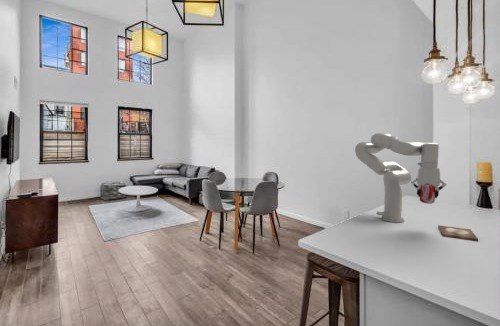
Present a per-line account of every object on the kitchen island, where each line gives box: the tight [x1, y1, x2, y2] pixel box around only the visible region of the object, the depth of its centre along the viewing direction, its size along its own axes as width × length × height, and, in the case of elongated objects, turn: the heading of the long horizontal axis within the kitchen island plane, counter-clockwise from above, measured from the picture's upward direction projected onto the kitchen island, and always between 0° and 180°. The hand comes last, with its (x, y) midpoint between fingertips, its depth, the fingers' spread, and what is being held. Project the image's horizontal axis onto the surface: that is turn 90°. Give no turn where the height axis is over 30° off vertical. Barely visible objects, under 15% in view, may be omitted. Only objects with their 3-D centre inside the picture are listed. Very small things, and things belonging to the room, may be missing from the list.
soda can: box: [419, 182, 436, 205], centre depth 137 cm, size 7×7×12 cm
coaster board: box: [437, 224, 479, 242], centre depth 132 cm, size 14×16×1 cm
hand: (427, 196), depth 138 cm, fingers closed on soda can, 7 cm apart
